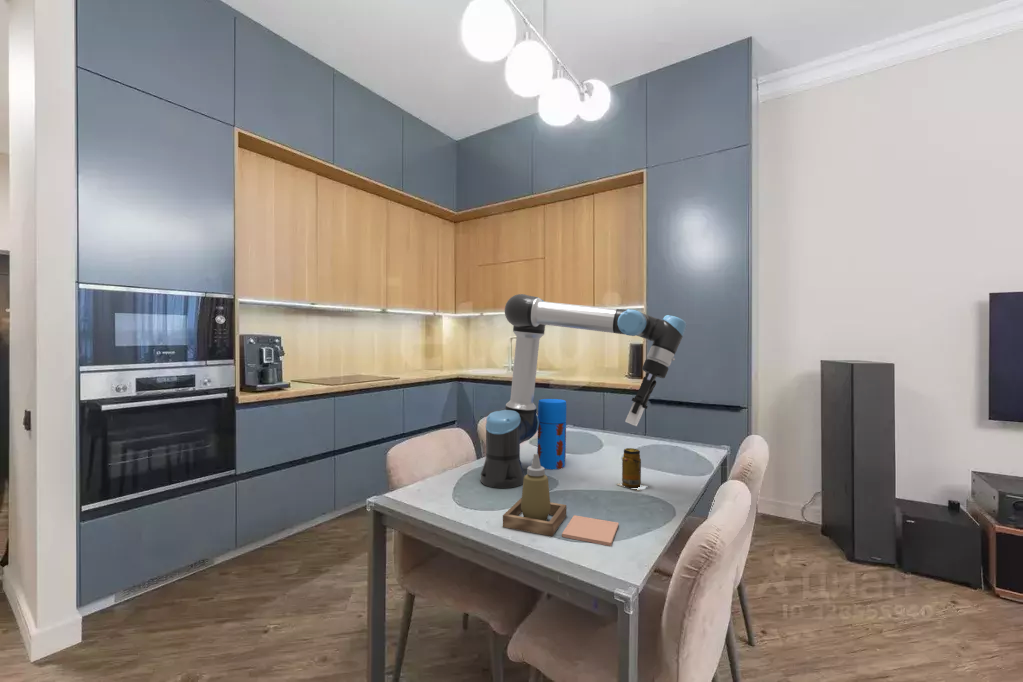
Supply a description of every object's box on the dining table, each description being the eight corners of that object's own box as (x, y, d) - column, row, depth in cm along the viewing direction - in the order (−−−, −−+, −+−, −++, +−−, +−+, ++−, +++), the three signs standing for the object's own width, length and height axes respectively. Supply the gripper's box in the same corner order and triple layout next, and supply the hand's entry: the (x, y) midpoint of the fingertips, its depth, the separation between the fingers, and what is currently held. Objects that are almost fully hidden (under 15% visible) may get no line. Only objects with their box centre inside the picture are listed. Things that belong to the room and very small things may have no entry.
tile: (561, 536, 106) (561, 533, 106) (573, 518, 117) (573, 515, 117) (611, 546, 101) (611, 542, 101) (618, 525, 112) (618, 522, 112)
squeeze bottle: (534, 512, 120) (535, 448, 120) (556, 521, 115) (557, 454, 115) (514, 520, 115) (514, 454, 115) (536, 530, 109) (537, 460, 109)
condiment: (629, 480, 148) (629, 446, 148) (650, 487, 142) (651, 451, 142) (616, 485, 144) (616, 449, 144) (637, 492, 137) (638, 455, 137)
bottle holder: (502, 526, 111) (502, 515, 111) (521, 508, 123) (521, 497, 123) (552, 536, 106) (552, 524, 106) (566, 515, 118) (566, 504, 118)
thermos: (532, 462, 168) (533, 399, 168) (556, 460, 172) (557, 398, 172) (545, 470, 158) (546, 403, 158) (570, 467, 162) (571, 402, 162)
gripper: (669, 361, 123) (640, 428, 122) (669, 372, 146) (644, 429, 145) (644, 351, 126) (615, 417, 125) (647, 364, 149) (623, 420, 148)
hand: (631, 424), depth 135 cm, fingers open, 13 cm apart
